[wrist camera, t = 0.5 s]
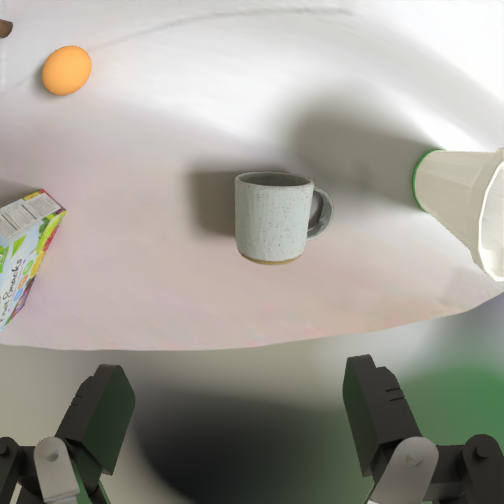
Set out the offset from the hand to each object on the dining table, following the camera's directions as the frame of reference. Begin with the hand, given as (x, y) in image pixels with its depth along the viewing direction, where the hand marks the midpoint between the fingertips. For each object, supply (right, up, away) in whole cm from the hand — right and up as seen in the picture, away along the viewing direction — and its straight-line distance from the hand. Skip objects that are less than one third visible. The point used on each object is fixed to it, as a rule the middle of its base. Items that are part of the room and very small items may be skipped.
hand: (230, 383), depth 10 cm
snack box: (-32, +4, +26) cm, 42 cm away
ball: (-20, +25, +14) cm, 35 cm away
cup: (+24, +13, +23) cm, 36 cm away
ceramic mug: (+4, +10, +24) cm, 26 cm away
